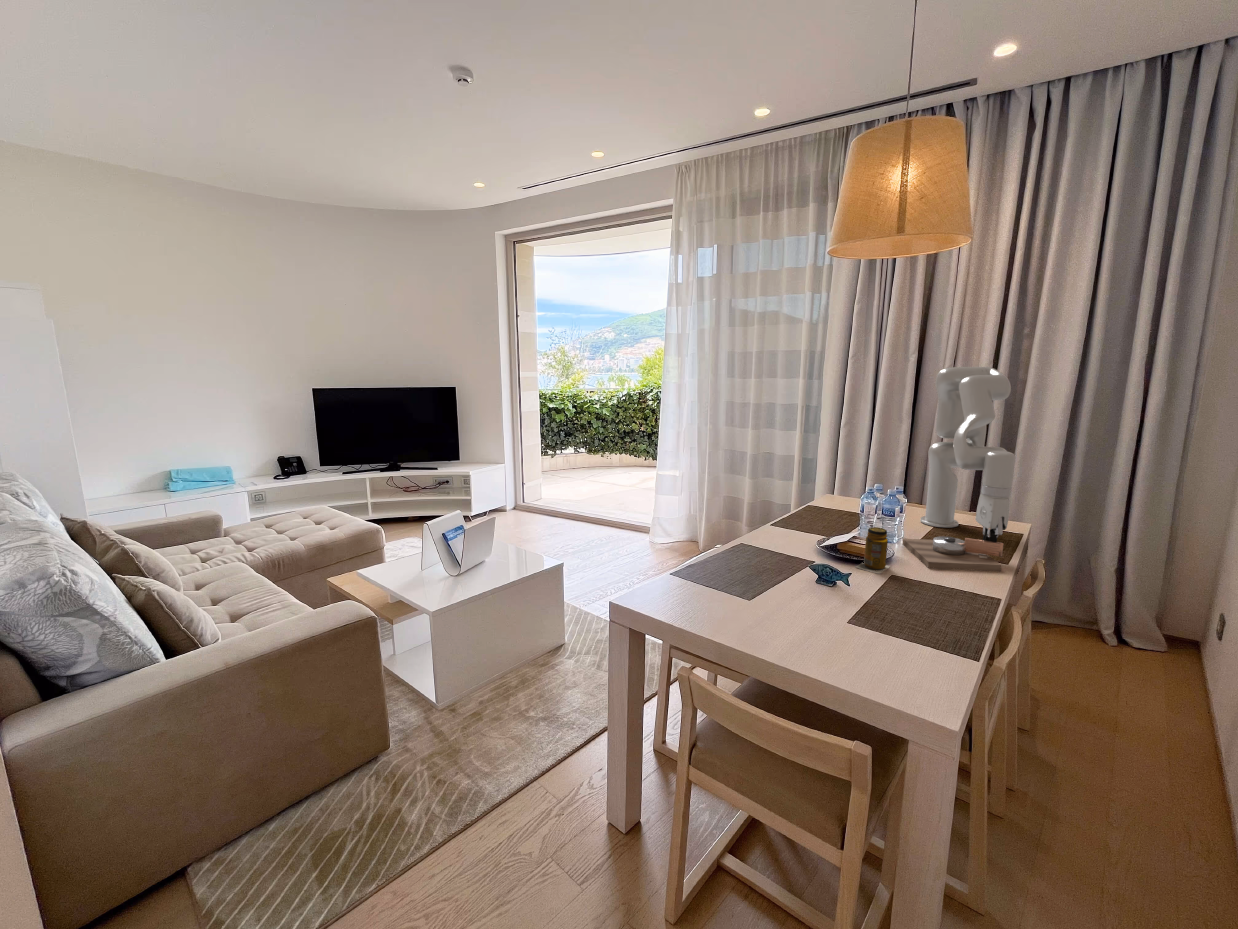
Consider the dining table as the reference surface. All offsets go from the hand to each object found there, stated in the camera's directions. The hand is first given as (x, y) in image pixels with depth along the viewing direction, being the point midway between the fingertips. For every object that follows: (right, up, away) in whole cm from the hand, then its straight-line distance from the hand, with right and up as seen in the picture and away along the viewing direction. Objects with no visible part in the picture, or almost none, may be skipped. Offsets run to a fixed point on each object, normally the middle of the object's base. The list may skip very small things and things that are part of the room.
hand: (988, 547), depth 167 cm
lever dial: (-7, -2, +1) cm, 7 cm away
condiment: (-38, -6, -4) cm, 39 cm away
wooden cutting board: (-10, -3, +4) cm, 12 cm away
